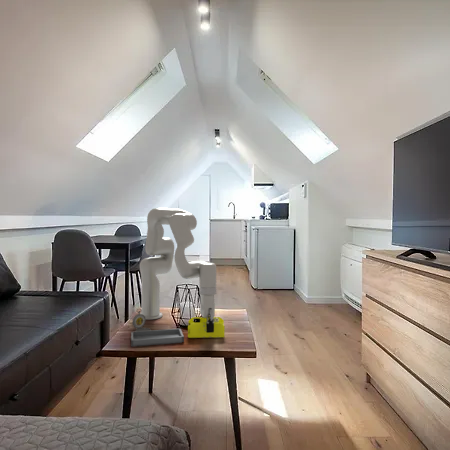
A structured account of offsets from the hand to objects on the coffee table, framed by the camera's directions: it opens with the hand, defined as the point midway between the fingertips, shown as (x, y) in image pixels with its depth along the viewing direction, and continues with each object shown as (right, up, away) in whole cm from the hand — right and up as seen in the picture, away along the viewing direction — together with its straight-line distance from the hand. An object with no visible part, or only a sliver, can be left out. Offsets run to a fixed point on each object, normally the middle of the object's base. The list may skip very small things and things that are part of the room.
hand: (207, 329), depth 158 cm
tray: (-22, -3, -5) cm, 22 cm away
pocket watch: (-31, -3, +7) cm, 32 cm away
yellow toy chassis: (-1, -4, 0) cm, 4 cm away
